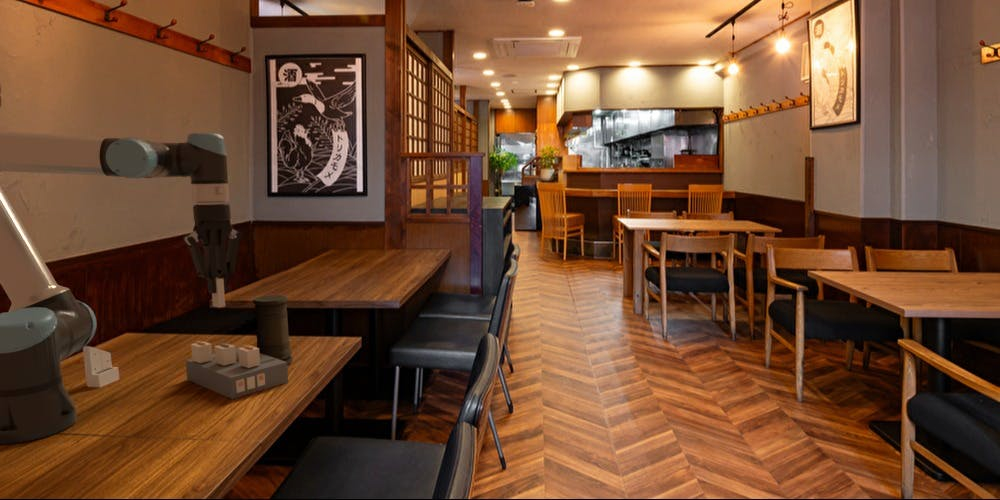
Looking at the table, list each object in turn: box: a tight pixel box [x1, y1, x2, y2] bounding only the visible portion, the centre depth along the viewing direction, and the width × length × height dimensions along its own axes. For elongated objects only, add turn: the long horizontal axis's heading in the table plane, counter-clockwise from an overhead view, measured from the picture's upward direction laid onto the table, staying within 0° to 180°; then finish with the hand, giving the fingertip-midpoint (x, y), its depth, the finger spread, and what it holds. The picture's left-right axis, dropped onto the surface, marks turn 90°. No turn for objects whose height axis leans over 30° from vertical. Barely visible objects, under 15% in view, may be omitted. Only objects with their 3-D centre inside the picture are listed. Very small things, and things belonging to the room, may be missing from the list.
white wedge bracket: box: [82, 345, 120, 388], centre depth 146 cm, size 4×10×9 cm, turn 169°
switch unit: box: [185, 346, 289, 400], centre depth 147 cm, size 14×22×5 cm, turn 51°
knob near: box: [238, 344, 260, 368], centre depth 142 cm, size 3×4×4 cm
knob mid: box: [214, 342, 236, 365], centre depth 145 cm, size 3×4×4 cm
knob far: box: [190, 340, 213, 363], centre depth 147 cm, size 3×4×4 cm
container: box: [252, 294, 294, 366], centre depth 159 cm, size 9×9×18 cm
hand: (219, 306), depth 138 cm, fingers closed
